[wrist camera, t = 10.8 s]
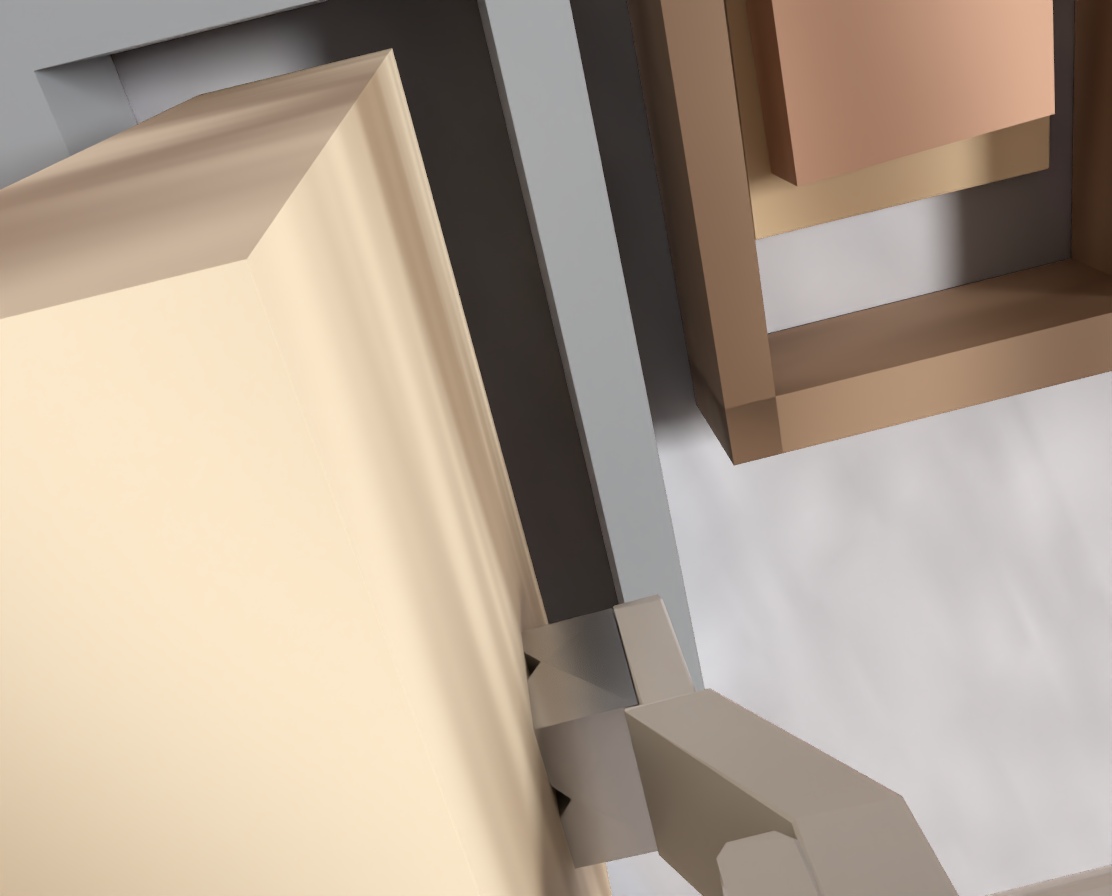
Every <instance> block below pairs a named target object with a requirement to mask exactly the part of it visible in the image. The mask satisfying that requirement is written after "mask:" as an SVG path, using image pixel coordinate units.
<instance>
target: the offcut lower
mask: <svg viewBox="0 0 1112 896" xmlns="http://www.w3.org/2000/svg"><path fill="white" fill-rule="evenodd" d="M723 1H724V9H725V16H726V24H727V31H728V39H729V47H730V54H731V62H732V69H733V77H734V85H735V92H736V100H737V107H738V115H739V123H740V130H741V138H742V145H743V153H744V161H745V168H746V176H747V183H748V191H749V199H750V206H751V214H752V221H753V229H754V236H755V239H756V240H757V239H761V238H765V237H769V236H773V235H778V234H782V233H786V232H790V231H794V230H798V229H802V228H806V227H810V226H814V225H819V224H823V223H827V222H831V221H835V220H839V219H843V218H847V217H851V216H856V215H860V214H864V213H868V212H872V211H876V210H880V209H884V208H888V207H893V206H897V205H901V204H905V203H909V202H913V201H917V200H921V199H925V198H929V197H934V196H938V195H942V194H946V193H950V192H954V191H958V190H962V189H966V188H971V187H975V186H979V185H983V184H987V183H991V182H995V181H999V180H1003V179H1007V178H1012V177H1016V176H1020V175H1024V174H1028V173H1032V172H1036V171H1040V170H1044V169H1049V122H1050V115H1049V116H1045V117H1042V118H1038V119H1035V120H1031V121H1028V122H1024V123H1021V124H1017V125H1014V126H1010V127H1007V128H1003V129H1000V130H996V131H992V132H989V133H985V134H982V135H978V136H975V137H971V138H968V139H964V140H961V141H957V142H954V143H950V144H947V145H943V146H940V147H936V148H933V149H929V150H926V151H922V152H919V153H915V154H911V155H908V156H904V157H901V158H897V159H894V160H890V161H887V162H883V163H880V164H876V165H873V166H869V167H866V168H862V169H859V170H855V171H852V172H848V173H845V174H841V175H838V176H834V177H830V178H827V179H823V180H820V181H816V182H813V183H809V184H806V185H802V186H799V187H797V186H795V185H793V184H791V183H789V182H787V181H786V180H784V179H782V178H780V177H778V176H776V175H774V174H772V172H771V165H770V158H769V152H768V145H767V138H766V132H765V125H764V118H763V112H762V105H761V98H760V91H759V85H758V78H757V71H756V65H755V58H754V51H753V44H752V38H751V31H750V24H749V18H748V11H747V4H746V0H723Z"/></svg>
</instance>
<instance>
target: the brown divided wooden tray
mask: <svg viewBox="0 0 1112 896" xmlns="http://www.w3.org/2000/svg"><path fill="white" fill-rule="evenodd" d="M627 4H628V10H629V16H630V21H631V27H632V33H633V39H634V45H635V50H636V56H637V62H638V68H639V74H640V79H641V85H642V91H643V97H644V103H645V109H646V114H647V120H648V126H649V132H650V138H651V143H652V149H653V155H654V161H655V167H656V172H657V178H658V184H659V190H660V196H661V201H662V207H663V213H664V219H665V225H666V230H667V236H668V242H669V248H670V254H671V259H672V265H673V271H674V277H675V283H676V289H677V294H678V300H679V306H680V312H681V318H682V323H683V329H684V335H685V341H686V347H687V352H688V358H689V364H690V370H691V376H692V381H693V387H694V393H695V399H696V405H697V406H698V408H699V409H700V411H701V413H702V414H703V416H704V418H705V419H706V421H707V422H708V424H709V426H710V427H711V429H712V430H713V432H714V434H715V435H716V437H717V439H718V440H719V442H720V443H721V445H722V447H723V448H724V450H725V452H726V453H727V455H728V456H729V458H730V460H731V461H732V463H733V464H734V465H738V464H742V463H746V462H750V461H754V460H758V459H762V458H766V457H770V456H774V455H778V454H782V453H786V452H790V451H794V450H798V449H802V448H806V447H810V446H814V445H818V444H822V443H826V442H830V441H834V440H838V439H842V438H846V437H850V436H854V435H858V434H862V433H866V432H870V431H874V430H877V429H881V428H885V427H889V426H893V425H897V424H901V423H905V422H909V421H913V420H917V419H921V418H925V417H929V416H933V415H937V414H941V413H945V412H949V411H953V410H957V409H961V408H965V407H969V406H973V405H977V404H981V403H985V402H989V401H993V400H997V399H1001V398H1005V397H1009V396H1013V395H1017V394H1021V393H1025V392H1029V391H1033V390H1037V389H1041V388H1045V387H1049V386H1053V385H1057V384H1061V383H1065V382H1069V381H1073V380H1077V379H1081V378H1085V377H1089V376H1093V375H1097V374H1101V373H1105V372H1109V371H1112V0H1075V46H1074V109H1073V172H1072V235H1071V259H1066V260H1062V261H1058V262H1054V263H1050V264H1046V265H1042V266H1038V267H1034V268H1030V269H1026V270H1022V271H1018V272H1014V273H1010V274H1006V275H1002V276H998V277H994V278H990V279H986V280H982V281H978V282H974V283H970V284H966V285H962V286H958V287H954V288H950V289H946V290H942V291H938V292H934V293H930V294H926V295H922V296H918V297H914V298H910V299H906V300H902V301H898V302H894V303H890V304H886V305H882V306H878V307H874V308H870V309H866V310H862V311H858V312H854V313H850V314H846V315H842V316H838V317H834V318H830V319H826V320H822V321H818V322H814V323H810V324H806V325H802V326H798V327H794V328H790V329H786V330H782V331H778V332H774V333H770V334H767V328H766V320H765V312H764V305H763V297H762V290H761V282H760V274H759V267H758V259H757V252H756V244H755V236H754V229H753V221H752V214H751V206H750V199H749V191H748V183H747V176H746V168H745V161H744V153H743V145H742V138H741V130H740V123H739V115H738V107H737V100H736V92H735V85H734V77H733V69H732V62H731V54H730V47H729V39H728V31H727V24H726V16H725V9H724V1H723V0H627Z"/></svg>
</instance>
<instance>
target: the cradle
mask: <svg viewBox="0 0 1112 896" xmlns="http://www.w3.org/2000/svg"><path fill="white" fill-rule="evenodd" d="M324 1H328V0H0V190H1V189H3V188H5V187H7V186H9V185H11V184H13V183H15V182H17V181H20V180H22V179H24V178H26V177H28V176H30V175H32V174H34V173H36V172H38V171H41V170H43V169H45V168H47V167H49V166H51V165H53V164H55V163H57V162H59V161H62V160H64V159H66V158H68V157H70V156H72V155H74V154H76V153H78V152H80V151H83V150H85V149H87V148H89V147H91V146H93V145H95V144H97V143H99V142H101V141H104V140H106V139H108V138H110V137H112V136H114V135H116V134H118V133H120V132H122V131H125V130H127V129H129V128H131V127H133V126H135V125H137V121H136V119H135V116H134V114H133V111H132V109H131V106H130V104H129V101H128V99H127V96H126V94H125V91H124V89H123V86H122V84H121V81H120V79H119V76H118V74H117V71H116V69H115V66H114V64H113V61H112V59H111V56H110V55H111V54H115V53H119V52H123V51H127V50H131V49H135V48H139V47H143V46H147V45H151V44H155V43H159V42H163V41H167V40H171V39H175V38H179V37H183V36H187V35H191V34H195V33H199V32H203V31H207V30H211V29H215V28H219V27H223V26H227V25H231V24H235V23H239V22H243V21H247V20H251V19H256V18H260V17H264V16H268V15H272V14H276V13H280V12H284V11H288V10H292V9H296V8H300V7H304V6H308V5H312V4H316V3H320V2H324ZM477 3H478V7H479V11H480V16H481V20H482V24H483V29H484V33H485V37H486V41H487V46H488V50H489V54H490V58H491V63H492V67H493V71H494V75H495V80H496V84H497V88H498V92H499V97H500V101H501V105H502V109H503V114H504V118H505V122H506V126H507V131H508V135H509V139H510V143H511V148H512V152H513V156H514V160H515V165H516V169H517V173H518V177H519V182H520V186H521V190H522V194H523V199H524V203H525V207H526V211H527V216H528V220H529V224H530V228H531V233H532V237H533V241H534V245H535V250H536V254H537V258H538V262H539V267H540V271H541V275H542V279H543V284H544V288H545V292H546V296H547V301H548V305H549V309H550V313H551V318H552V322H553V326H554V330H555V335H556V339H557V343H558V348H559V352H560V356H561V360H562V365H563V369H564V373H565V377H566V382H567V386H568V390H569V394H570V399H571V403H572V407H573V411H574V416H575V420H576V424H577V428H578V433H579V437H580V441H581V445H582V450H583V454H584V458H585V462H586V467H587V471H588V475H589V479H590V484H591V488H592V492H593V496H594V501H595V505H596V509H597V513H598V518H599V522H600V526H601V530H602V535H603V539H604V543H605V547H606V552H607V556H608V560H609V564H610V569H611V573H612V577H613V581H614V586H615V590H616V594H617V598H618V603H619V604H623V603H626V602H630V601H633V600H637V599H641V598H644V597H648V596H651V595H655V594H658V595H659V596H660V597H662V599H663V602H664V605H665V607H666V610H667V613H668V616H669V618H670V621H671V624H672V627H673V629H674V632H675V635H676V638H677V640H678V643H679V646H680V649H681V651H682V654H683V657H684V660H685V662H686V665H687V668H688V671H689V673H690V676H691V679H692V681H693V684H694V687H695V690H696V691H700V690H705V688H704V683H703V678H702V673H701V668H700V663H699V658H698V653H697V648H696V643H695V637H694V632H693V627H692V622H691V617H690V612H689V607H688V602H687V597H686V592H685V586H684V581H683V576H682V571H681V566H680V561H679V556H678V551H677V546H676V541H675V536H674V530H673V525H672V520H671V515H670V510H669V505H668V500H667V495H666V490H665V485H664V480H663V474H662V469H661V464H660V459H659V454H658V449H657V444H656V439H655V434H654V429H653V423H652V418H651V413H650V408H649V403H648V398H647V393H646V388H645V383H644V378H643V373H642V367H641V362H640V357H639V352H638V347H637V342H636V337H635V332H634V327H633V322H632V316H631V311H630V306H629V301H628V296H627V291H626V286H625V281H624V276H623V271H622V266H621V260H620V255H619V250H618V245H617V240H616V235H615V230H614V225H613V220H612V215H611V209H610V204H609V199H608V194H607V189H606V184H605V179H604V174H603V169H602V164H601V159H600V153H599V148H598V143H597V138H596V133H595V128H594V123H593V118H592V113H591V108H590V103H589V97H588V92H587V87H586V82H585V77H584V72H583V67H582V62H581V57H580V52H579V46H578V41H577V36H576V31H575V26H574V21H573V16H572V11H571V6H570V1H569V0H477Z"/></svg>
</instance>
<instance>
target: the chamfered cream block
mask: <svg viewBox="0 0 1112 896" xmlns="http://www.w3.org/2000/svg"><path fill="white" fill-rule="evenodd" d="M547 624H548V620H547V616H546V613H545V609H544V605H543V602H542V598H541V594H540V591H539V587H538V583H537V579H536V576H535V572H534V568H533V565H532V561H531V557H530V554H529V550H528V546H527V543H526V539H525V535H524V532H523V528H522V524H521V521H520V517H519V513H518V510H517V506H516V502H515V498H514V495H513V491H512V487H511V484H510V480H509V476H508V473H507V469H506V465H505V462H504V458H503V454H502V451H501V447H500V443H499V440H498V436H497V432H496V429H495V425H494V421H493V417H492V414H491V410H490V406H489V403H488V399H487V395H486V392H485V388H484V384H483V381H482V377H481V373H480V370H479V366H478V362H477V359H476V355H475V351H474V348H473V344H472V340H471V336H470V333H469V329H468V325H467V322H466V318H465V314H464V311H463V307H462V303H461V300H460V296H459V292H458V289H457V285H456V281H455V278H454V274H453V270H452V267H451V263H450V259H449V255H448V252H447V248H446V244H445V241H444V237H443V233H442V230H441V226H440V222H439V219H438V215H437V211H436V208H435V204H434V200H433V197H432V193H431V189H430V186H429V182H428V178H427V174H426V171H425V167H424V163H423V160H422V156H421V152H420V149H419V145H418V141H417V138H416V134H415V130H414V127H413V123H412V119H411V116H410V112H409V108H408V105H407V101H406V97H405V93H404V90H403V86H402V82H401V79H400V75H399V71H398V68H397V64H396V60H395V57H394V53H393V49H392V48H390V49H386V50H382V51H378V52H374V53H370V54H366V55H361V56H357V57H353V58H349V59H345V60H341V61H337V62H333V63H329V64H324V65H320V66H316V67H312V68H308V69H304V70H300V71H296V72H292V73H287V74H283V75H279V76H275V77H271V78H267V79H263V80H259V81H255V82H250V83H246V84H242V85H238V86H234V87H230V88H226V89H222V90H218V91H213V92H209V93H205V94H201V95H198V96H196V97H194V98H192V99H190V100H188V101H185V102H183V103H181V104H179V105H177V106H175V107H173V108H171V109H169V110H167V111H164V112H162V113H160V114H158V115H156V116H154V117H152V118H150V119H148V120H146V121H143V122H141V123H139V124H137V125H135V126H133V127H131V128H129V129H127V130H125V131H122V132H120V133H118V134H116V135H114V136H112V137H110V138H108V139H106V140H104V141H101V142H99V143H97V144H95V145H93V146H91V147H89V148H87V149H85V150H83V151H80V152H78V153H76V154H74V155H72V156H70V157H68V158H66V159H64V160H62V161H59V162H57V163H55V164H53V165H51V166H49V167H47V168H45V169H43V170H41V171H38V172H36V173H34V174H32V175H30V176H28V177H26V178H24V179H22V180H20V181H17V182H15V183H13V184H11V185H9V186H7V187H5V188H3V189H1V190H0V896H612V893H611V888H610V883H609V877H608V872H607V867H606V862H604V863H599V864H594V865H590V866H585V867H580V868H576V869H575V867H574V864H573V861H572V857H571V854H570V851H569V847H568V844H567V841H566V837H565V834H564V830H563V827H562V824H561V820H560V815H559V808H558V802H557V795H556V789H555V788H553V787H552V786H550V784H549V780H548V777H547V773H546V770H545V767H544V763H543V760H542V757H541V753H540V750H539V747H538V743H537V740H536V737H535V733H534V730H533V722H532V714H531V707H530V699H529V691H528V683H527V680H528V679H529V677H530V672H529V669H528V665H527V662H526V658H525V655H524V651H523V643H522V635H521V632H522V631H523V630H527V629H531V628H535V627H539V626H543V625H547Z"/></svg>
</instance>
